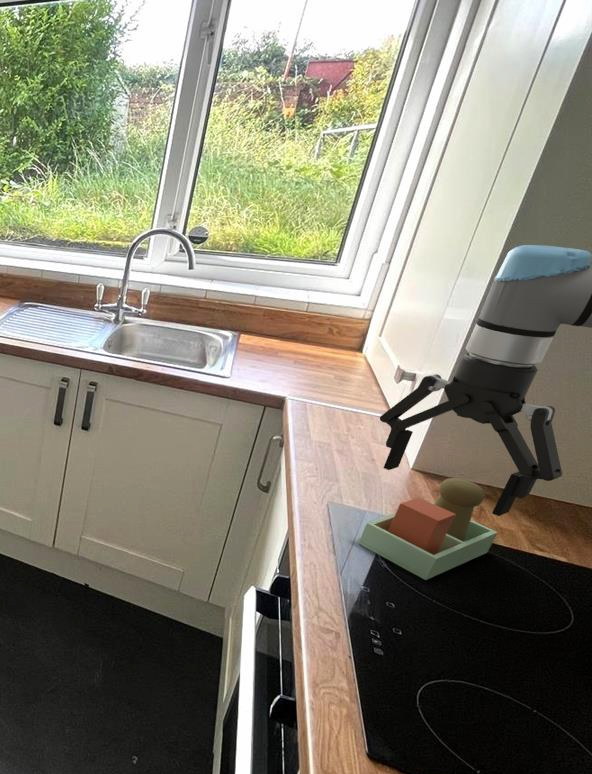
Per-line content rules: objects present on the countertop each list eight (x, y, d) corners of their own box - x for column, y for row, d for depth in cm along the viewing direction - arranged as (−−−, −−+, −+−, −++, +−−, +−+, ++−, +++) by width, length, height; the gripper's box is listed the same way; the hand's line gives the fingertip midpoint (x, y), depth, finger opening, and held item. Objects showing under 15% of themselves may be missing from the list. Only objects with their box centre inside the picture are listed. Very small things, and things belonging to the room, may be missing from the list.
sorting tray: (419, 520, 103) (428, 500, 101) (487, 552, 95) (498, 532, 94) (357, 543, 96) (366, 522, 95) (425, 580, 88) (436, 558, 87)
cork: (413, 538, 97) (440, 482, 93) (415, 523, 101) (440, 468, 97) (462, 555, 93) (493, 498, 89) (462, 539, 97) (491, 483, 93)
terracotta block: (435, 555, 93) (456, 514, 90) (417, 563, 91) (438, 521, 88) (399, 537, 97) (418, 496, 94) (381, 544, 95) (400, 503, 92)
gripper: (648, 387, 72) (568, 529, 80) (410, 331, 93) (365, 448, 101) (622, 395, 69) (541, 542, 77) (383, 336, 90) (339, 455, 98)
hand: (441, 489), depth 89 cm, fingers open, 13 cm apart
